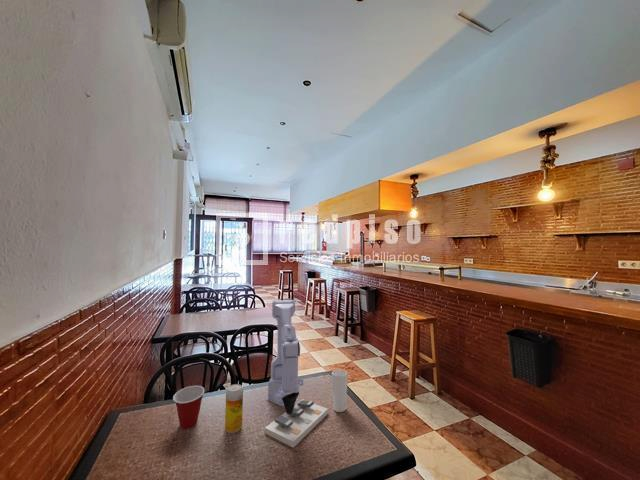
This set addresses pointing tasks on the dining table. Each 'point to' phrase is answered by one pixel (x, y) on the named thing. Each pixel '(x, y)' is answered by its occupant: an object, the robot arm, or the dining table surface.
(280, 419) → the block
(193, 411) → the plastic cup
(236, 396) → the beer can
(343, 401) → the drinking glass
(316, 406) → the switch panel
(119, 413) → the dining table surface
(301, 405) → the block
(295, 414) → the block
